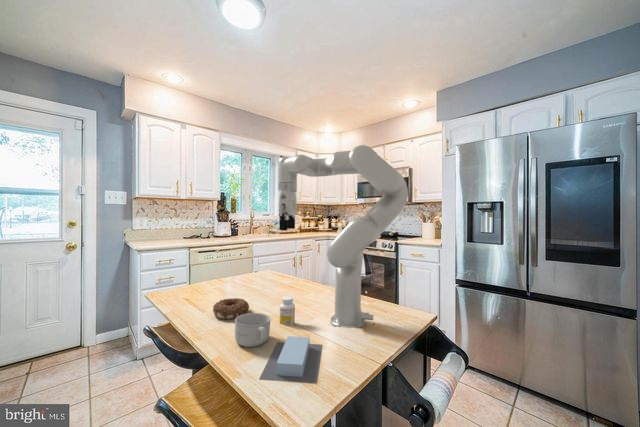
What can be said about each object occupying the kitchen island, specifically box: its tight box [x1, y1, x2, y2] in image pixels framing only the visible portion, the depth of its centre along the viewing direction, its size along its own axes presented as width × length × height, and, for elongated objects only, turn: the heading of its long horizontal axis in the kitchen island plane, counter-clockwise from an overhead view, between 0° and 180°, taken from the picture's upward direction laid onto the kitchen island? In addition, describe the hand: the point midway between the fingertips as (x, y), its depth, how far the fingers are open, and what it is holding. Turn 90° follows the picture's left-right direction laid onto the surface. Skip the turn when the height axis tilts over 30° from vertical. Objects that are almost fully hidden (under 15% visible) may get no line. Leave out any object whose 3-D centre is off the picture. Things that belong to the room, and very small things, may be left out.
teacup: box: [234, 312, 272, 348], centre depth 81 cm, size 14×11×8 cm
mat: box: [259, 341, 323, 384], centre depth 72 cm, size 14×18×1 cm
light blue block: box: [276, 335, 310, 377], centre depth 72 cm, size 6×14×3 cm, turn 175°
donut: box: [212, 297, 250, 320], centre depth 105 cm, size 14×14×5 cm
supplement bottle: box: [279, 295, 296, 326], centre depth 96 cm, size 5×5×10 cm
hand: (287, 229), depth 109 cm, fingers open, 9 cm apart
